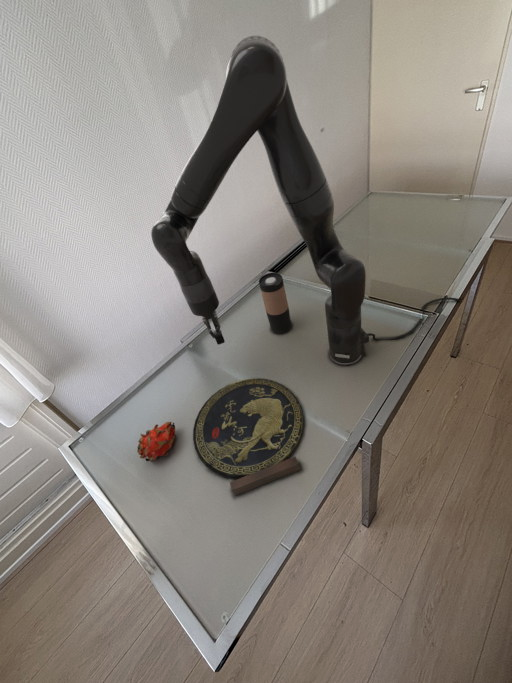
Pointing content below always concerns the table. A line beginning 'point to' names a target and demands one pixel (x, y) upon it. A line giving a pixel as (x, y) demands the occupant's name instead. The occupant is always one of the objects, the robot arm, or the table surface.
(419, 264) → the table surface
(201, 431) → the decorative plate
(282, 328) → the travel mug
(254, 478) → the rail
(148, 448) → the dragon fruit
